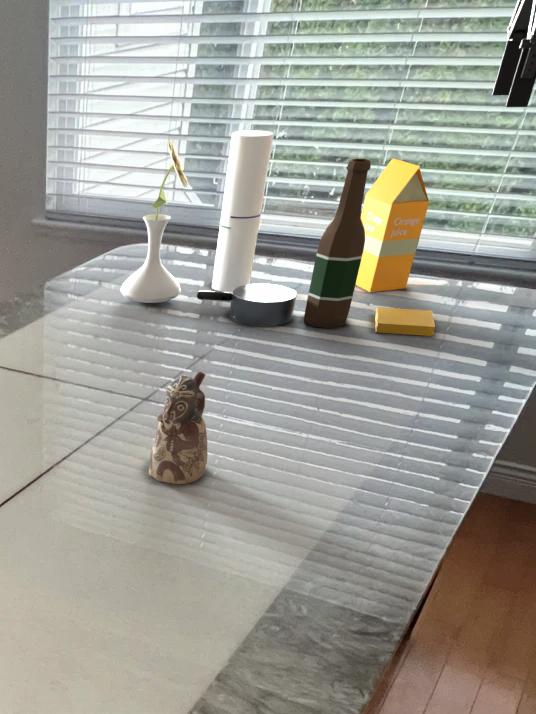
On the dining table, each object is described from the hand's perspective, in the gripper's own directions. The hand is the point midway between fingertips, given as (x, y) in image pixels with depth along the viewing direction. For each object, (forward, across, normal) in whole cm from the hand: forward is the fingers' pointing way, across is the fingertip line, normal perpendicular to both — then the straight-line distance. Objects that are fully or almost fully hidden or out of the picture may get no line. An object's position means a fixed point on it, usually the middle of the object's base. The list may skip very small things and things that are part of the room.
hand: (508, 101), depth 124 cm
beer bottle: (+31, +1, -19) cm, 37 cm away
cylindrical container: (+31, -17, -37) cm, 51 cm away
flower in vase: (+31, -7, -51) cm, 60 cm away
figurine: (+31, +65, -37) cm, 81 cm away
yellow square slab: (+31, +1, -6) cm, 32 cm away
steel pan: (+31, 0, -33) cm, 46 cm away
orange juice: (+31, -24, -10) cm, 41 cm away
